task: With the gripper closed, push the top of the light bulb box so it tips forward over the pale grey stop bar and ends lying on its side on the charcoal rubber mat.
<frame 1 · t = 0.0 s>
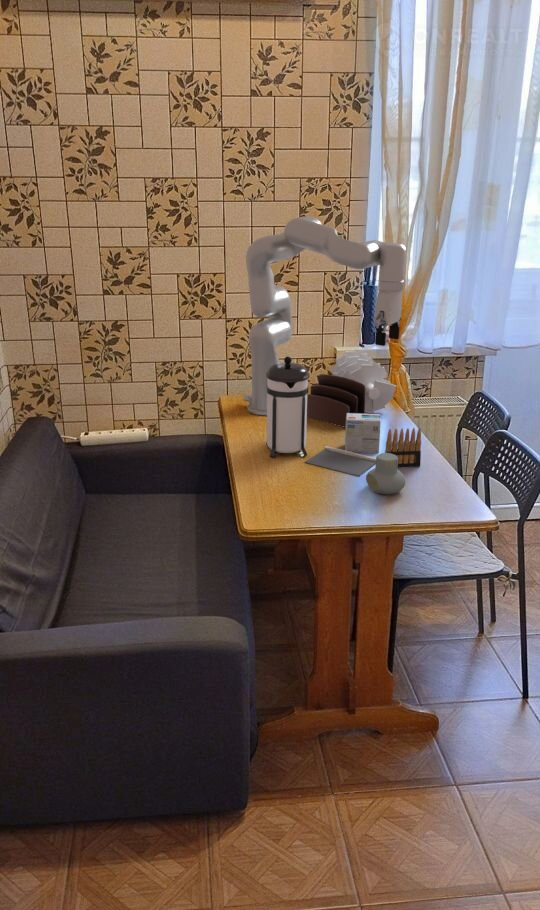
hand: (387, 341, 237), 31 cm above the table, tool pointing down, fingers open, 9 cm apart
light bulb box: (361, 449, 239), on the table
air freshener: (384, 490, 211), on the table
ammunition clip: (401, 466, 227), on the table
letter holder: (332, 419, 265), on the table
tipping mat: (341, 462, 228), on the table
spiral staircase: (360, 404, 279), on the table
coffee press: (284, 450, 238), on the table
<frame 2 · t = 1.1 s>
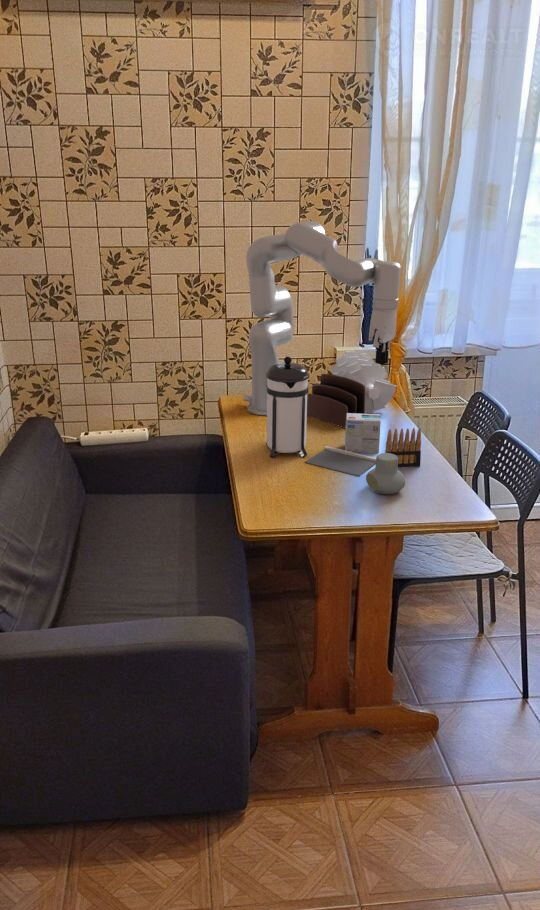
hand: (381, 363, 237), 25 cm above the table, tool pointing down, fingers closed
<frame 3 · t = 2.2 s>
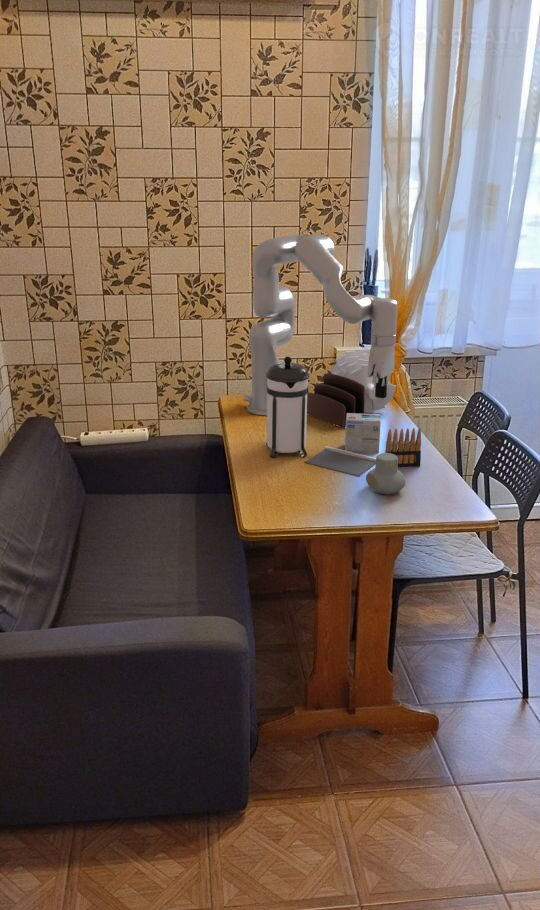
hand: (380, 397, 241), 14 cm above the table, tool pointing down, fingers closed
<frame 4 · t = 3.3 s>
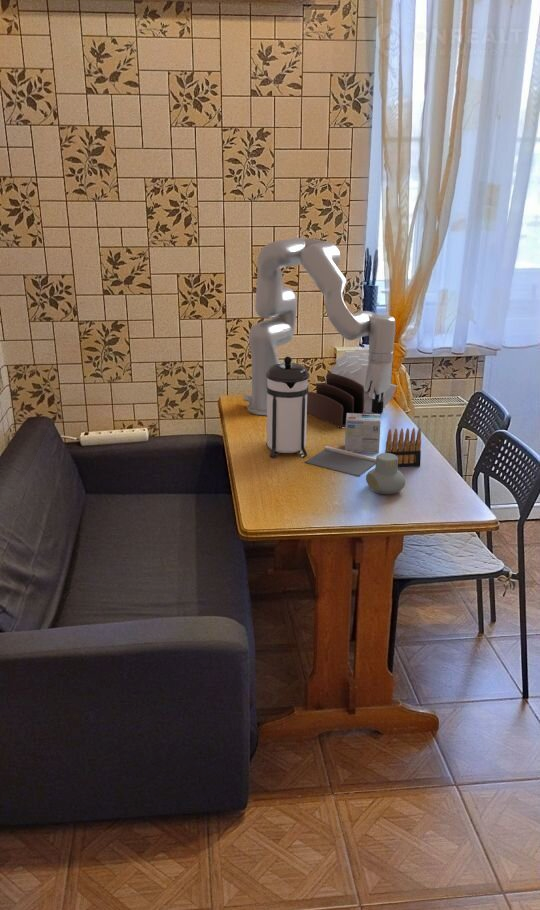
hand: (377, 412, 243), 9 cm above the table, tool pointing down, fingers closed
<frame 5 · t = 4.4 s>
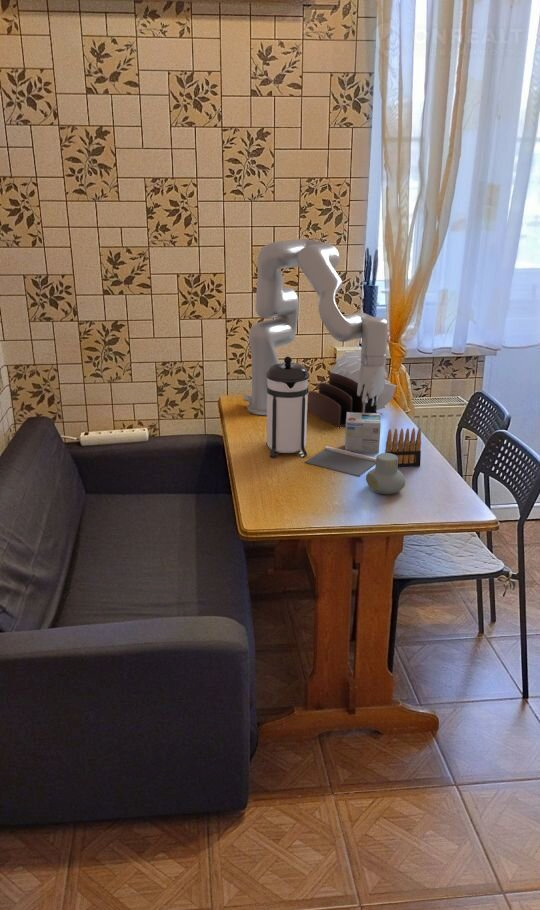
hand: (370, 416, 238), 9 cm above the table, tool pointing down, fingers closed
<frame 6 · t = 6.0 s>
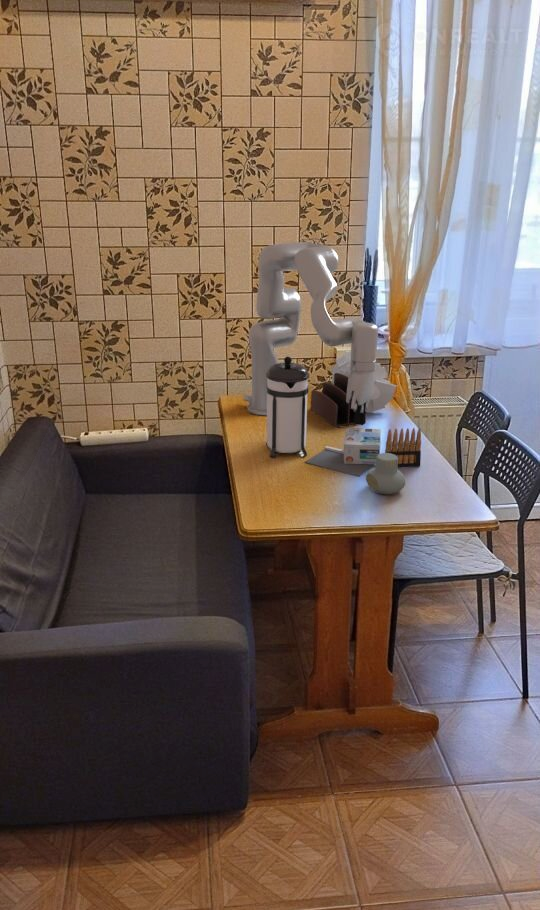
hand: (359, 423, 233), 9 cm above the table, tool pointing down, fingers closed
light bulb box: (362, 437, 234), point 5 cm above the table, touching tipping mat
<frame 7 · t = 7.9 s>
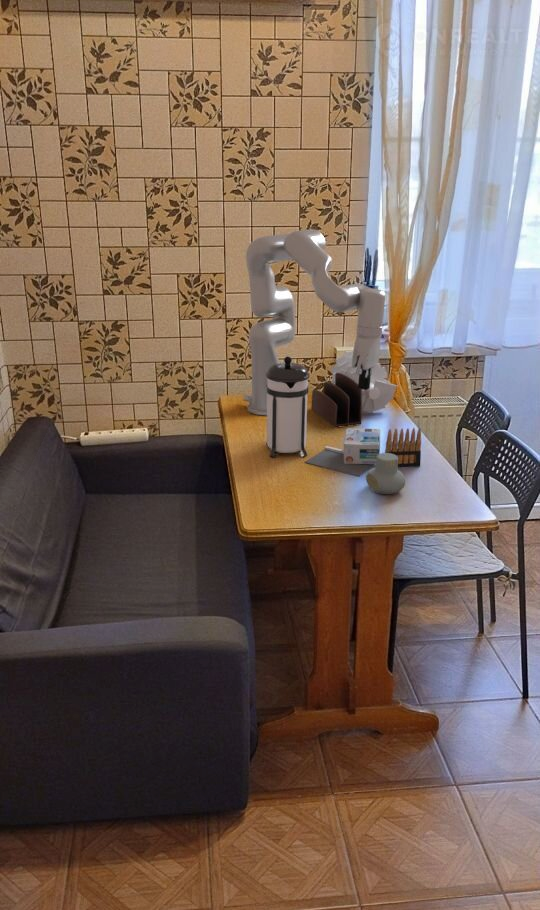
hand: (363, 388, 239), 17 cm above the table, tool pointing down, fingers closed
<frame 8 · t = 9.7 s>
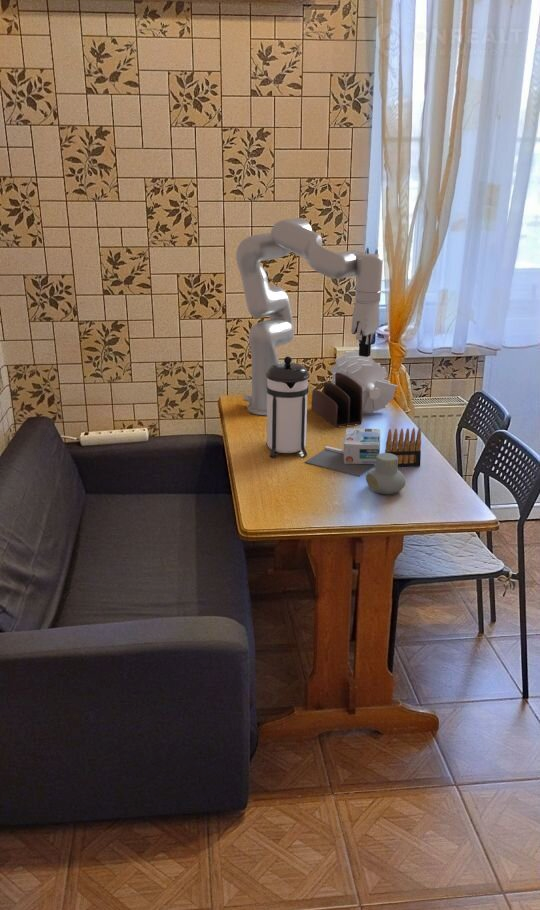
hand: (364, 355, 238), 27 cm above the table, tool pointing down, fingers closed
at the end: light bulb box tilted 96°; light bulb box inside the target area (5.2 cm from its centre), point 4.9 cm above the table; the gripper is holding nothing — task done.
